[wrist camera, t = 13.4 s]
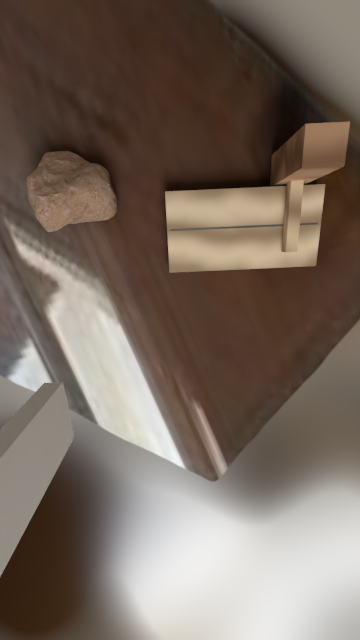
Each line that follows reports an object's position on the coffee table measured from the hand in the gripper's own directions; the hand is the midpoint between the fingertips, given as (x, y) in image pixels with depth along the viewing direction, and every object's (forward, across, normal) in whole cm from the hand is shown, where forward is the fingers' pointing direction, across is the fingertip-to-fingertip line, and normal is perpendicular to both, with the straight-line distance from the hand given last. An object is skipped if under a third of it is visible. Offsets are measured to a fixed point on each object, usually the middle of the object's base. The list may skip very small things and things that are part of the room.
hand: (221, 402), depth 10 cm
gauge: (+34, +16, +12) cm, 40 cm away
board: (+35, +9, +8) cm, 37 cm away
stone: (+35, -17, +15) cm, 42 cm away
